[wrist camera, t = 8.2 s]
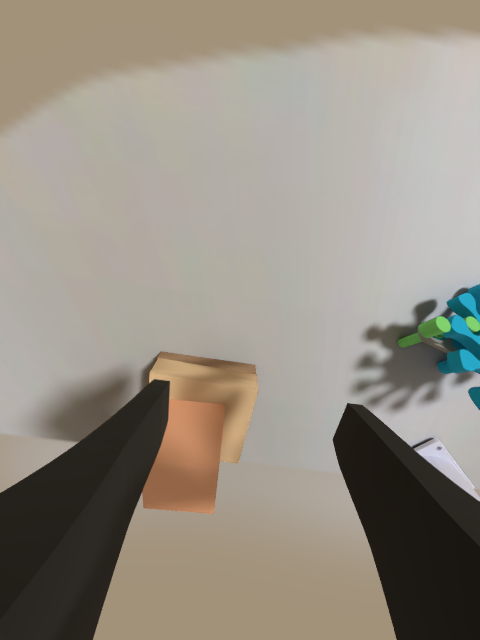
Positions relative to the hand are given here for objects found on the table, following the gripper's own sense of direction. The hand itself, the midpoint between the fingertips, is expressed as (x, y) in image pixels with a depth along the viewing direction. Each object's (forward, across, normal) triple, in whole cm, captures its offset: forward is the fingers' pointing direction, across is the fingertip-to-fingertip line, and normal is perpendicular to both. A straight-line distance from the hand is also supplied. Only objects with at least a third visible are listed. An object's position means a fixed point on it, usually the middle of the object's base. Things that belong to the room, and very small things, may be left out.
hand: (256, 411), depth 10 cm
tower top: (+9, +3, +8) cm, 13 cm away
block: (+7, +3, +8) cm, 11 cm away
